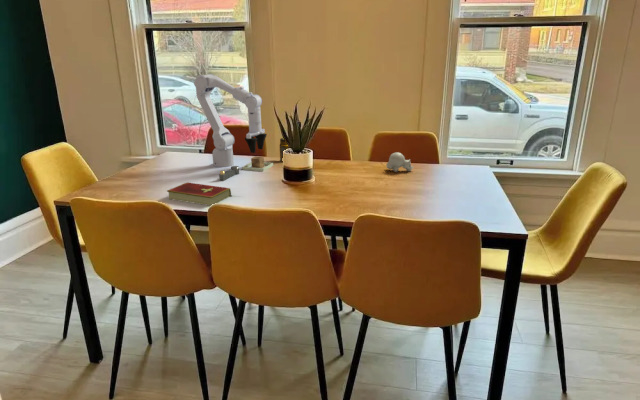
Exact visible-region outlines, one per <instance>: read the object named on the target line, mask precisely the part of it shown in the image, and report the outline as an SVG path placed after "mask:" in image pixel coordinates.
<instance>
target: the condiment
mask: <svg viewBox="0 0 640 400" xmlns="http://www.w3.org/2000/svg"><path fill="white" fill-rule="evenodd" d="M284 138H285V137H282V138H280V139H279V140H280V142H279V162H282V158H283V151H284V150H286V149H287V148H288V145H287V143H286V142H285V140H284Z"/></svg>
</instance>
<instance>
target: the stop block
mask: <svg viewBox="0 0 640 400" xmlns="http://www.w3.org/2000/svg"><path fill="white" fill-rule="evenodd" d="M250 160H251V161H250V163H252V165H251V168H264V167H265V165H264V162H265V157H264V156H258V155H257V156H256V155H255V156H254V157H251V159H250Z"/></svg>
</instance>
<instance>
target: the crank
mask: <svg viewBox="0 0 640 400" xmlns="http://www.w3.org/2000/svg"><path fill="white" fill-rule="evenodd" d="M239 174H240V166H239V165H233V166H230V168H229V169H227V170H220V171H219V174H218V177H219V181H223V182H224V181H226V180H228V179H230V178H231V177H234V176H235V175H239Z"/></svg>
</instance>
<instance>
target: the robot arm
mask: <svg viewBox="0 0 640 400" xmlns="http://www.w3.org/2000/svg"><path fill="white" fill-rule="evenodd" d="M193 85H194V87H195V90H196V91H195V92H196V98H197V100H198V103H199V104H200V106H201V109H202V110H203V112H204V115H205V117H206V119H207V121H208V123H209V125H210V127H211V129H212V131H213V133H212V136H211V137H212V140H213V146H214V147H215V148H213V150H212V164H213V167H214V166H215V167H219V168H229V167H230V168H231V167H232V166H235V161H234V152H233V145H234V144H235V136H234V135H233V134H232V133H231V132H230V130H229V129H227V128H226V127H225V126H224V124H223V121H222V120H221V117H220V115H219V113H218V111H217V109H216V107H215V105H214V103H213V101H212V99H211V94H212V92H213V90H214V89H215V88H218V89H220V90H223V91H225V92H227V93H229V94H230V95H232V98H233V99H234V100H236V101H237V102H238V101H239V102H240V103H242V104H243V105H245V107H246V108H247V115H248V130H249V131H248V132H247V133H246V136H245V137H244V140H245V142H246V143H247V146H248V148H249V152H250V153H251V154H255V153H256V151H257V149H256V147H257V148H258V150H263V149H264V143H265V140H266V137H267V133H266V132H265V130H266V129H265V128H262V127H263V125H262V112H261V106H262V105H263V99H262V97H261V96H260V95H259V94H258V93H257V94H256V93H255V94H253V92H251V91H247V90H246V89H245V87H243V86H236V87H235V86H233V85H232V84H230V83H229V82H226V81H225V80H224V79H222V78H220V76H217V75H215V74H213V73H208V74H199V75H197V76H196V77H195V79H194V83H193Z"/></svg>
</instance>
